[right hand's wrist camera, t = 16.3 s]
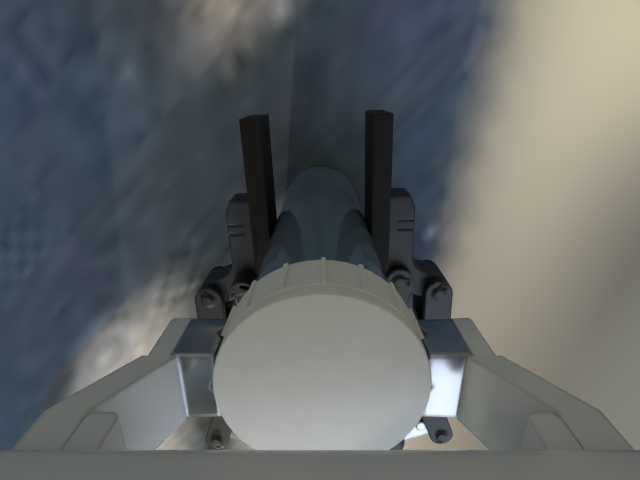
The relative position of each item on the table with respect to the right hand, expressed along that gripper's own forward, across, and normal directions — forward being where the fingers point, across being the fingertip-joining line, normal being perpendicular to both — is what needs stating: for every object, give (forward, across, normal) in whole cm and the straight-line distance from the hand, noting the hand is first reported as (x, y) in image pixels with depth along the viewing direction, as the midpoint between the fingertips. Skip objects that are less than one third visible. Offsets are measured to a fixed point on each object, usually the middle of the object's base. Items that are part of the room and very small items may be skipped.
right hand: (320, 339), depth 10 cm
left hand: (+8, 0, -5) cm, 9 cm away
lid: (-2, 0, 0) cm, 2 cm away
